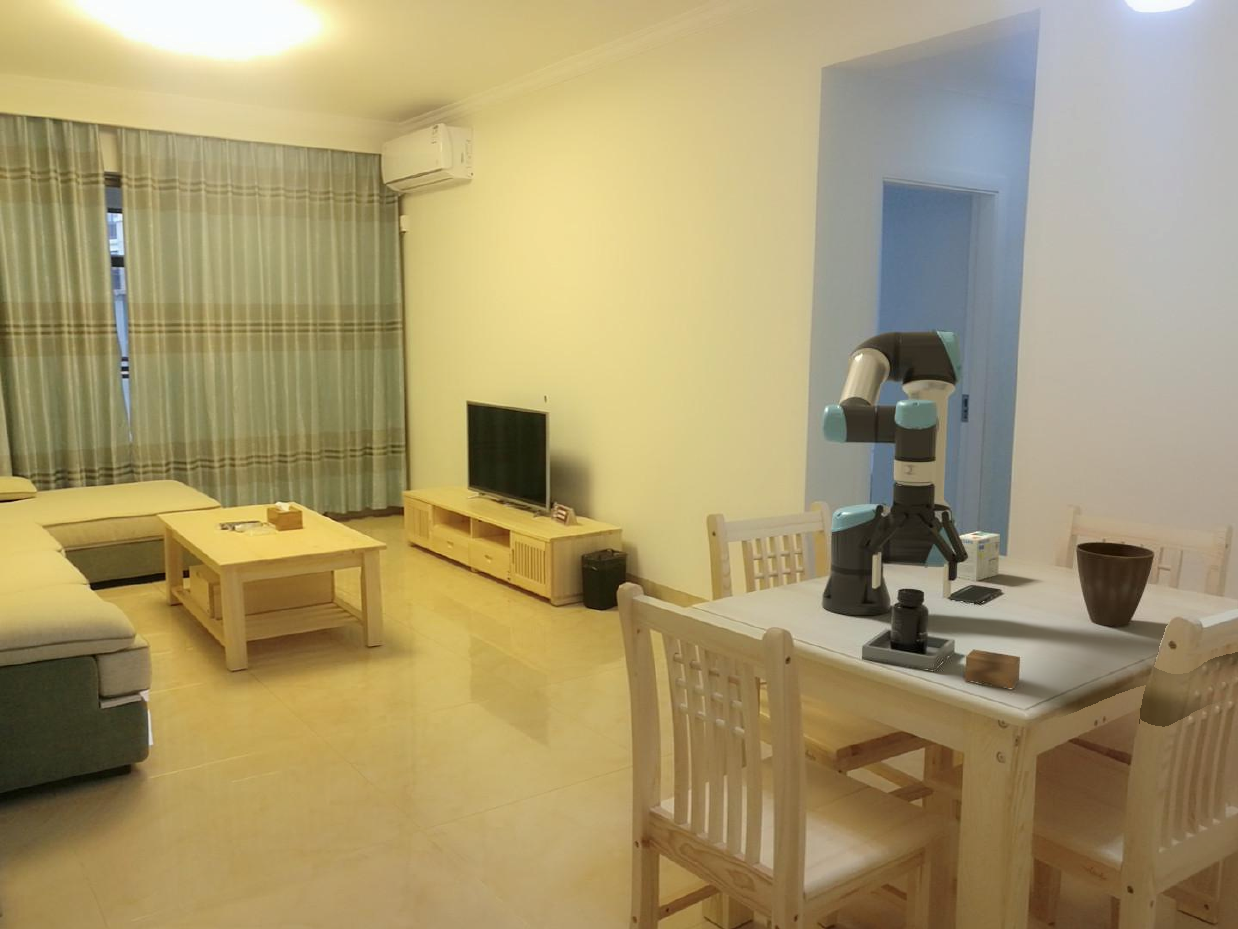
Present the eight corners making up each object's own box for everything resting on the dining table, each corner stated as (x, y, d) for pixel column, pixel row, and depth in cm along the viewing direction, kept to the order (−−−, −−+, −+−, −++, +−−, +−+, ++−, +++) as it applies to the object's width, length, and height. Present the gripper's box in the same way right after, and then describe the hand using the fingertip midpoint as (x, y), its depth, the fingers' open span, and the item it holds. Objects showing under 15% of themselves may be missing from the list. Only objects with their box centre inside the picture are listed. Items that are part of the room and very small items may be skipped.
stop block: (965, 681, 176) (966, 656, 175) (972, 673, 180) (973, 649, 179) (1012, 689, 171) (1013, 664, 171) (1018, 681, 176) (1019, 657, 175)
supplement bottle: (928, 658, 186) (931, 596, 185) (891, 656, 188) (893, 594, 186) (925, 648, 193) (927, 587, 192) (889, 645, 194) (891, 586, 193)
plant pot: (1153, 619, 214) (1158, 547, 212) (1145, 636, 202) (1149, 559, 200) (1078, 609, 223) (1082, 539, 221) (1066, 625, 210) (1070, 551, 208)
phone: (946, 596, 232) (971, 584, 243) (945, 601, 232) (970, 588, 243) (979, 602, 226) (1003, 589, 238) (979, 606, 227) (1003, 594, 238)
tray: (861, 658, 189) (862, 645, 188) (885, 640, 200) (886, 628, 200) (933, 671, 181) (934, 658, 181) (954, 652, 192) (954, 639, 192)
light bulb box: (975, 570, 261) (977, 530, 259) (999, 575, 256) (1001, 534, 254) (952, 576, 254) (954, 535, 253) (976, 581, 249) (978, 539, 247)
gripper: (843, 479, 190) (841, 587, 193) (977, 490, 176) (972, 606, 179) (857, 474, 196) (855, 578, 199) (987, 484, 182) (983, 596, 186)
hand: (910, 591), depth 189 cm, fingers open, 13 cm apart
